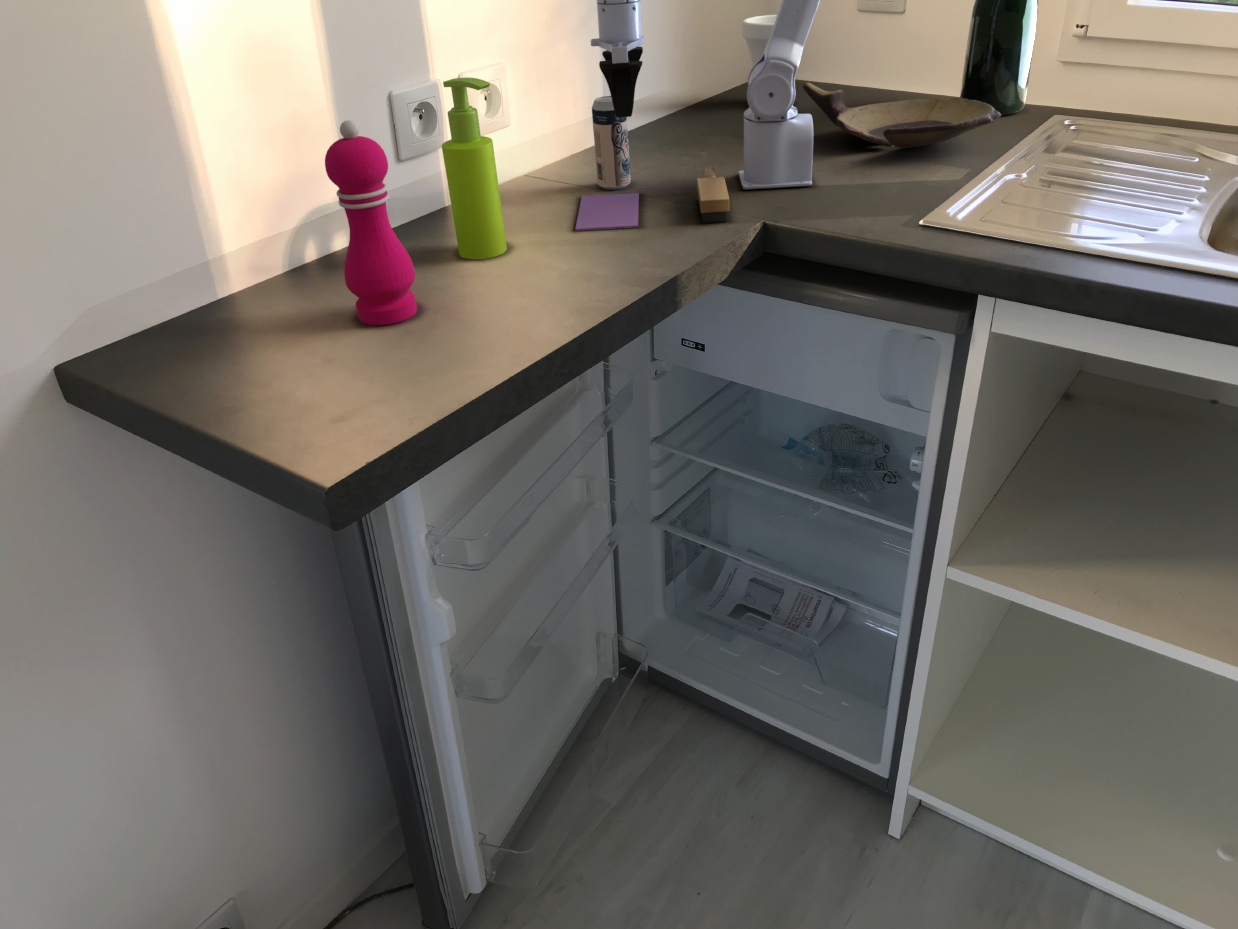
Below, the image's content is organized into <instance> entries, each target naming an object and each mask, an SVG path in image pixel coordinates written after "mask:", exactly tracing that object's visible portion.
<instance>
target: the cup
mask: <svg viewBox="0 0 1238 929" xmlns="http://www.w3.org/2000/svg"><path fill="white" fill-rule="evenodd" d="M777 15H778V14H766V15H758V16H751V17H748V18H745V19H744V20H743V21H741V22H742V23H741V24H742V36H743V38H744V40H745V43H746V45H747V49H748V53H749V56H750V60H751V69H752V68H753V66H754V65H755V64H756V63H757V62H758V61H759V60H760V58H761V57H762V55H763V53H764V50H765V47H766V44H767V42H768V40H769V37H770V35H771V33H772V30H773V27H774V24H775V21H776V18H777Z"/></svg>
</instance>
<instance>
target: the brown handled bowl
mask: <svg viewBox="0 0 1238 929" xmlns="http://www.w3.org/2000/svg"><path fill="white" fill-rule="evenodd" d="M802 89H803V90H804V92H806V94H807V95H808V96H809V97H810V99H811V100H812V101H813V102H814V103H815V104H816V105H817V106H818V107H819V109H820V110H821V111H822V112H823V113H824V115H825V116H826V117H827V119H829V120H830V122H831V123H832V124H834V125H835V126H836V127H838V128H840V129H841V130H843V131H845V132H846V133H848V134H850V135H852V136H855V137H856V138H859V139H861V140H864V141H867V142H870V143H873V144H876V145H880V146H884V147H893V148H894V147H896V148H921V147H926V146H931V145H934V144H938V143H941V142H945V141H947V140H950V139H953V138H956V137H958V136H961V135H963V134H965V133H968V132H971V131H972V130H975V129H977V128H980V127H982V126H985V125H989V124H991V123H993V121H994V120H997V119H999V118H1001V116H1002V115H1001V114H1000V113H999V112H998V111H996V110H994V108H993V107H992V106H991V105H989V104H987V103H983V102H980V101H976V100H968V99H963V98H960V97H951V98H946V97H929V98H913V99H912V98H911V99H910V98H909V99H902V100H892V101H884V102H879V103H876V102H875V103H869V104H864V105H859V106H854V107H848V106H847V105H845V104H844V101H843V100H844V98H843V96H844V90H842V89H837V90H834V91H828V90H824V89H822V88H820V87H818V86H817V85H814V84H813V83H810V82H804V83H803V85H802Z"/></svg>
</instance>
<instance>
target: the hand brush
mask: <svg viewBox="0 0 1238 929" xmlns="http://www.w3.org/2000/svg"><path fill="white" fill-rule="evenodd" d="M701 175H702V177H698V178H696V188H697V189H696V190H697V197H698V203H699V209H700V213H701V217H702V222H703V224H708V223H712V224H713V223H726V222H728V212H730V197H729V191H728V188H727V183H726V180H725V176H717V174H716V171H715V168H714V167H713V166H711V165H710V166H709V165H707V166H705V167H704V168H703V169H702V172H701Z"/></svg>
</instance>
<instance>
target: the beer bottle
mask: <svg viewBox="0 0 1238 929" xmlns="http://www.w3.org/2000/svg"><path fill="white" fill-rule="evenodd" d="M1038 11H1039V0H974V4H973V6H972V12H971V17H970V23H969V28H968V30H969V31H968V35H967V42H966V49H965V57H964V62H963V63H964V64H963V69H962V70H963V71H962V77H961V85H960V93H959V98H963V99H968V100H976V101H980V102H983V103H987V104H989V105H991V106H992V107H993V108H994V110H996V111H998V112H999V113H1000V114H1001V116H1008V115H1013V114H1016V113H1019V112H1021V111H1022V110H1023V109H1024V108H1025V106H1026V105H1025V104H1026V100H1027V94H1028V87H1029V80H1030V74H1031V66H1032V59H1033V52H1034V45H1035V37H1036V30H1037V22H1038V21H1037V20H1038V13H1039V12H1038Z"/></svg>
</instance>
